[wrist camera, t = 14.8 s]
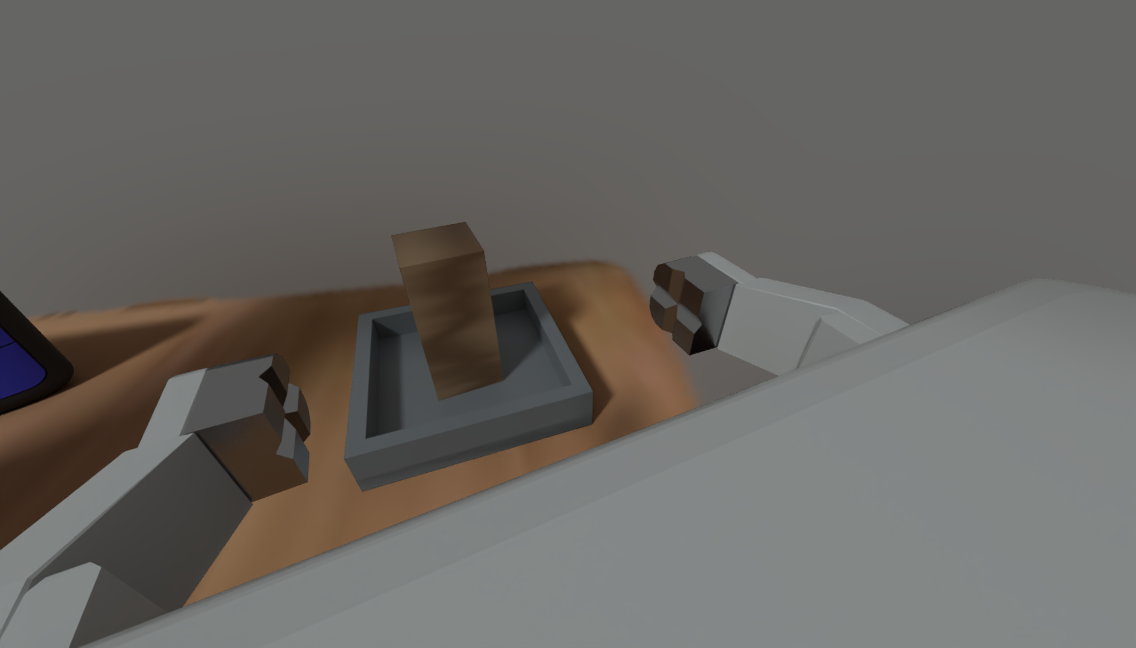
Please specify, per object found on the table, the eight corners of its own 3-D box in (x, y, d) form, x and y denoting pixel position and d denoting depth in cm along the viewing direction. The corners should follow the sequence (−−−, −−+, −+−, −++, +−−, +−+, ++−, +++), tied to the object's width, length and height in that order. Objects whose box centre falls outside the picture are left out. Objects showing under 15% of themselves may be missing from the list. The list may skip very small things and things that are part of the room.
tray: (362, 491, 23) (344, 458, 22) (370, 344, 34) (358, 314, 32) (592, 423, 27) (592, 391, 25) (534, 310, 38) (532, 281, 36)
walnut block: (438, 401, 28) (399, 267, 22) (427, 360, 31) (391, 235, 25) (503, 380, 29) (483, 250, 23) (486, 343, 32) (465, 221, 26)
